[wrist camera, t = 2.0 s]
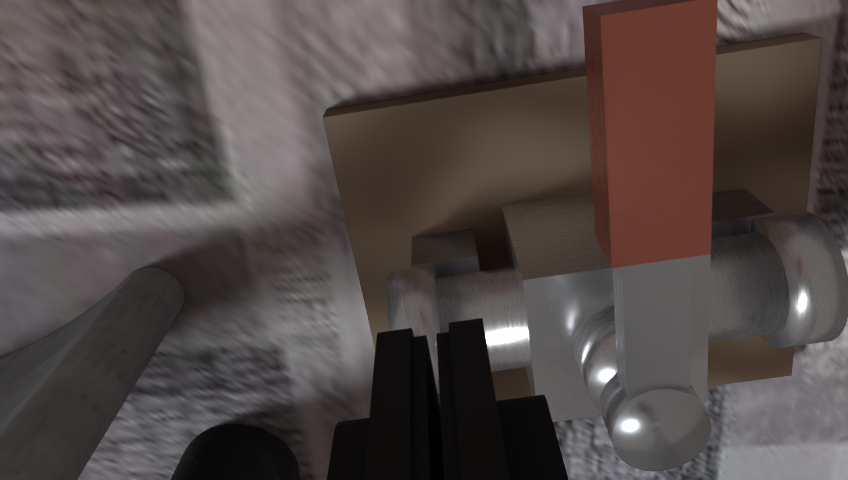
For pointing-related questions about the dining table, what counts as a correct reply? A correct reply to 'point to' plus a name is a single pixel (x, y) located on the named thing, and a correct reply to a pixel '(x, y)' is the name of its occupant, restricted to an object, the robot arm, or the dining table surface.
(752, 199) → the valve body
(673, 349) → the lever
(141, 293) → the hip flask
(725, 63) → the walnut board
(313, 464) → the dining table surface
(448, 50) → the dining table surface
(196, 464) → the travel mug
